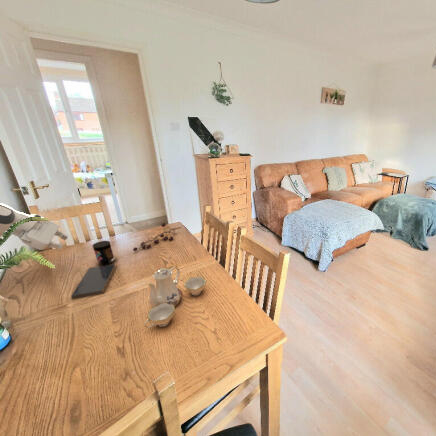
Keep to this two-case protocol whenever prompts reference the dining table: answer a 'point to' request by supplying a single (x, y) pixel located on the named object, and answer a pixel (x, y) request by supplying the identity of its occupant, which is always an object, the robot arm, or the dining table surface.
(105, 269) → the slate plate
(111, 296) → the dining table surface
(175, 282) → the chinaware
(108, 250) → the supplement container
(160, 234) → the decorative branch
